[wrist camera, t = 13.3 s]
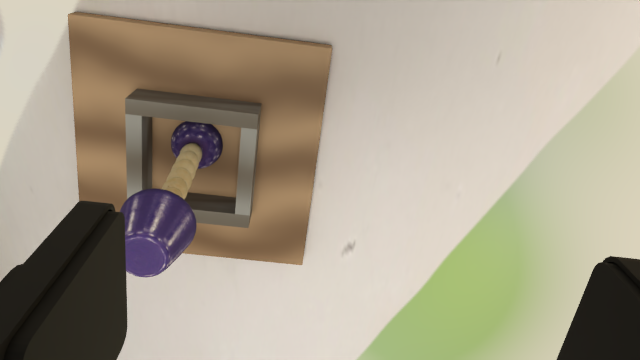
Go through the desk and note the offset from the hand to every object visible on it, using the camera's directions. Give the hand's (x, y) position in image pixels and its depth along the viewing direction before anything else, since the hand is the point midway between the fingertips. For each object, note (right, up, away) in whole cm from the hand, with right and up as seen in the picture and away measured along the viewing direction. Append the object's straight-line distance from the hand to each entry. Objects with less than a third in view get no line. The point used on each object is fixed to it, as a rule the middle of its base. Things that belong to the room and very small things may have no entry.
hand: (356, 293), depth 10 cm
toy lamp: (-11, +5, +34) cm, 36 cm away
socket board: (-11, +5, +35) cm, 37 cm away
